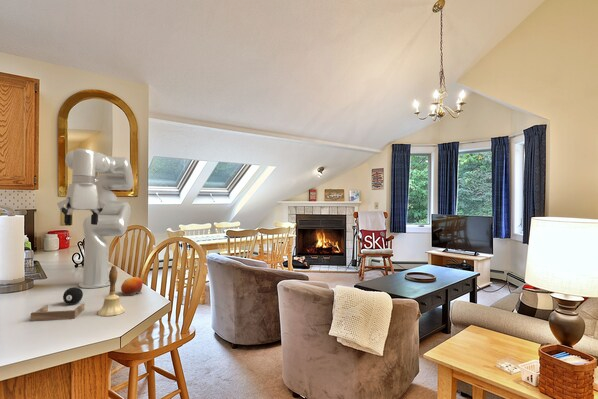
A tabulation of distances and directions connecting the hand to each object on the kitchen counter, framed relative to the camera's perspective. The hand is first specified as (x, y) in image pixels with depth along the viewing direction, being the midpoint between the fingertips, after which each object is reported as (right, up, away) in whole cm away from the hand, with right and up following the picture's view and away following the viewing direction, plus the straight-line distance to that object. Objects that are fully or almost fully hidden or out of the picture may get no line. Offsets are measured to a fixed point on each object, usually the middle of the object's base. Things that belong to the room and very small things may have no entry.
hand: (81, 224), depth 131 cm
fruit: (+15, -30, +9) cm, 34 cm away
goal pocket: (+5, -29, -19) cm, 35 cm away
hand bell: (+20, -29, -15) cm, 38 cm away
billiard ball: (+1, -29, -6) cm, 30 cm away
